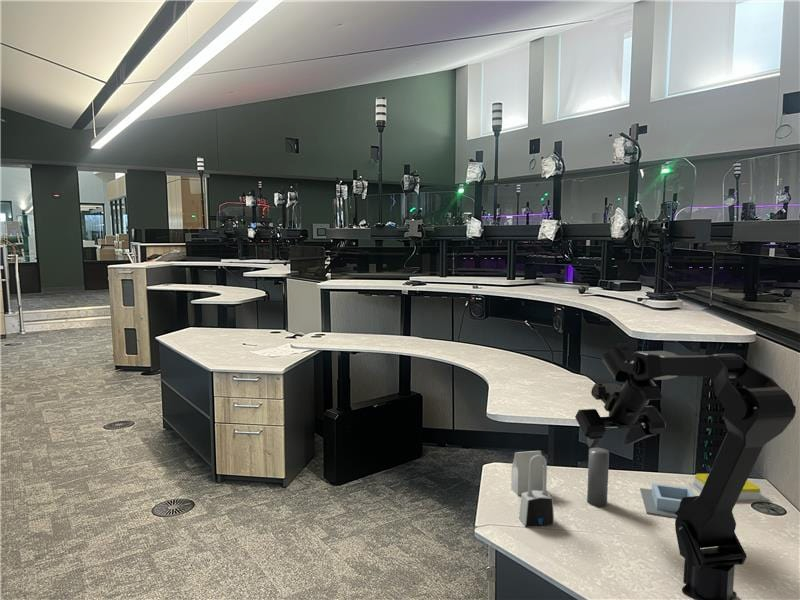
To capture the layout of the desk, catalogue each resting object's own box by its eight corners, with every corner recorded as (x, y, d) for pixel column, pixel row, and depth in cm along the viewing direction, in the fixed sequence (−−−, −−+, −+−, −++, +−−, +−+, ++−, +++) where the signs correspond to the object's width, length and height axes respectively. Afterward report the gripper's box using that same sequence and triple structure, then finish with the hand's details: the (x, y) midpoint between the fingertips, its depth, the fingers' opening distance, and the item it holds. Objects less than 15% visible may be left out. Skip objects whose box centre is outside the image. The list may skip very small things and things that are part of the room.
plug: (610, 503, 122) (612, 451, 121) (600, 508, 119) (602, 456, 118) (593, 496, 125) (595, 446, 124) (583, 501, 122) (585, 450, 121)
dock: (712, 523, 112) (713, 510, 112) (646, 513, 117) (647, 500, 116) (699, 497, 125) (699, 485, 125) (640, 489, 129) (640, 477, 129)
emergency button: (687, 468, 132) (745, 468, 133) (686, 485, 133) (744, 485, 133) (710, 484, 123) (772, 484, 123) (709, 502, 123) (770, 502, 124)
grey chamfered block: (543, 493, 127) (544, 453, 126) (517, 495, 125) (518, 455, 124) (536, 486, 130) (537, 448, 129) (511, 489, 129) (512, 450, 128)
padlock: (546, 515, 115) (548, 450, 114) (555, 525, 111) (557, 457, 110) (518, 518, 114) (519, 452, 113) (525, 528, 110) (527, 459, 109)
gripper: (652, 369, 117) (626, 415, 126) (576, 372, 113) (555, 419, 123) (680, 407, 108) (651, 453, 117) (599, 412, 105) (575, 459, 114)
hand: (607, 445), depth 118 cm, fingers open, 9 cm apart
